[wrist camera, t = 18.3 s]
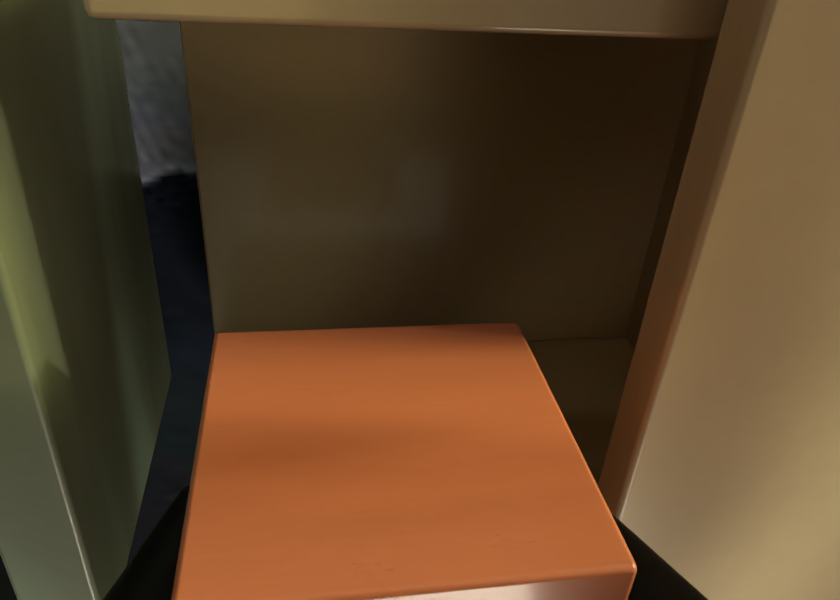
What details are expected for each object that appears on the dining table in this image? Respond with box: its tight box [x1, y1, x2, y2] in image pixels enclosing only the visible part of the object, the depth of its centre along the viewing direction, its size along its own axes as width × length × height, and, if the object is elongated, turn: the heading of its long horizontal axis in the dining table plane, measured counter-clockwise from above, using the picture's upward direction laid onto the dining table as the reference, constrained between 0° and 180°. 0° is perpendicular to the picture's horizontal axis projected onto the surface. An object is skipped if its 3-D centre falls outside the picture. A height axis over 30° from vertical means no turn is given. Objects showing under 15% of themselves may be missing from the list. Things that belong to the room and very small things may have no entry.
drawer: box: [0, 0, 728, 600], centre depth 12 cm, size 18×11×7 cm, turn 87°
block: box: [171, 322, 637, 600], centre depth 9 cm, size 4×4×4 cm
